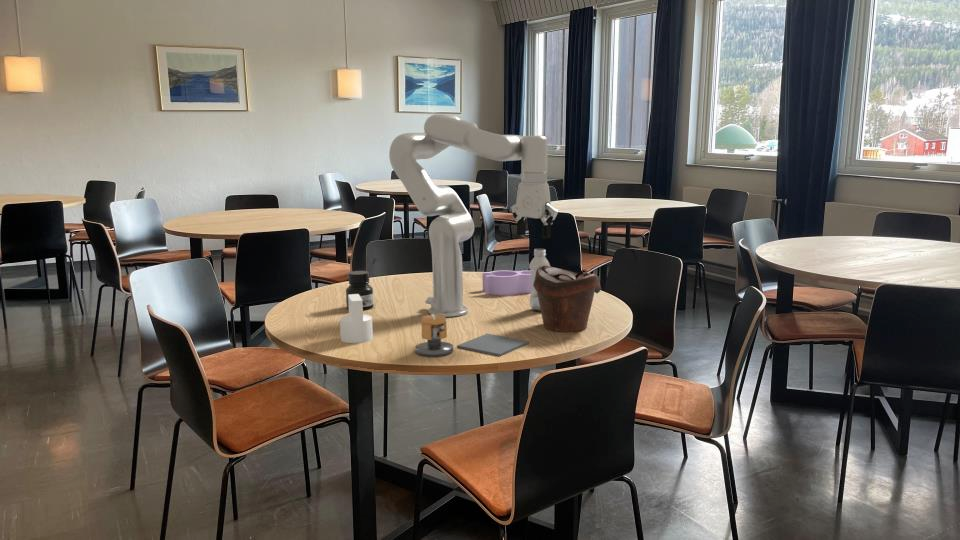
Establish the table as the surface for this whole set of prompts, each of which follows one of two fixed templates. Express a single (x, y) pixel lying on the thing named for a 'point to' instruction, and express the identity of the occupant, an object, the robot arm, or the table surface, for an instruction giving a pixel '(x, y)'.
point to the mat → (493, 344)
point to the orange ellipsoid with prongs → (433, 320)
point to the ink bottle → (360, 288)
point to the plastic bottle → (534, 265)
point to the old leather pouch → (565, 297)
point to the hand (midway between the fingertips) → (533, 236)
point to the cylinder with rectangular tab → (356, 322)
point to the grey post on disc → (434, 344)
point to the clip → (506, 282)
